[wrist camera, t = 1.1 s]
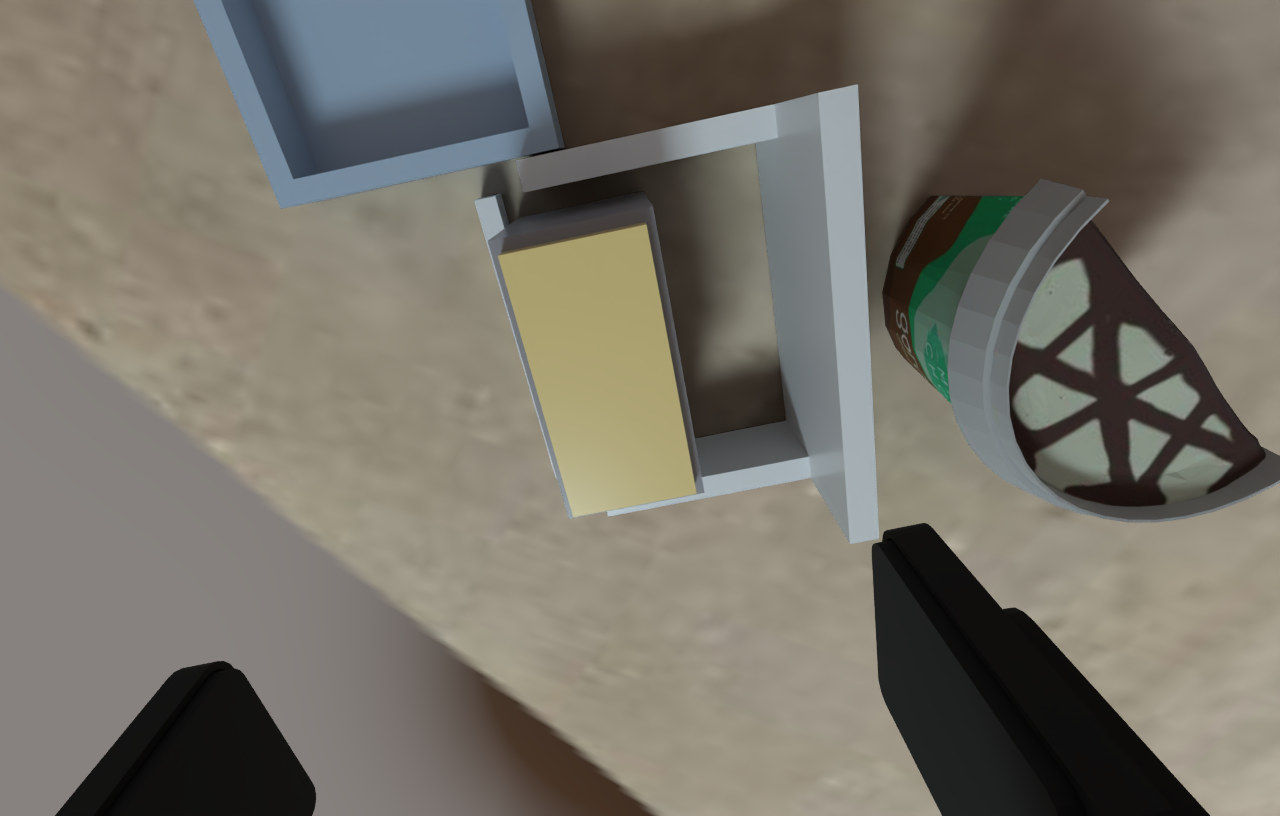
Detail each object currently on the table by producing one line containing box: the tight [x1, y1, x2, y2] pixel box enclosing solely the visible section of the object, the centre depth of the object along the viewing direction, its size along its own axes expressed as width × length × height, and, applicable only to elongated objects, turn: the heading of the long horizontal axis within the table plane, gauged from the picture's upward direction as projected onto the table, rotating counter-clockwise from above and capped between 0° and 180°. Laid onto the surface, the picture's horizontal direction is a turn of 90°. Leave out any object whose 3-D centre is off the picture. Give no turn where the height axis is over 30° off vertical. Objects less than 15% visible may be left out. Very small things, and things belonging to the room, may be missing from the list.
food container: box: [882, 179, 1280, 522], centre depth 22 cm, size 12×6×10 cm, turn 48°
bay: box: [474, 84, 879, 544], centre depth 22 cm, size 12×14×8 cm
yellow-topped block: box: [488, 191, 705, 519], centre depth 22 cm, size 5×10×7 cm, turn 11°
